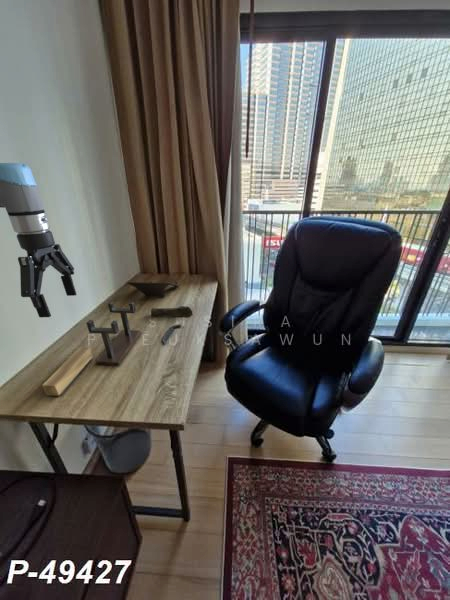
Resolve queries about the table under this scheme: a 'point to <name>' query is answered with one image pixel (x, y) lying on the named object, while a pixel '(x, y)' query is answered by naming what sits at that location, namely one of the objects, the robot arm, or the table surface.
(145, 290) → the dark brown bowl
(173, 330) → the knife
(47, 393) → the wooden block
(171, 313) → the hand tool
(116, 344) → the tool rack
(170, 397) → the table surface
